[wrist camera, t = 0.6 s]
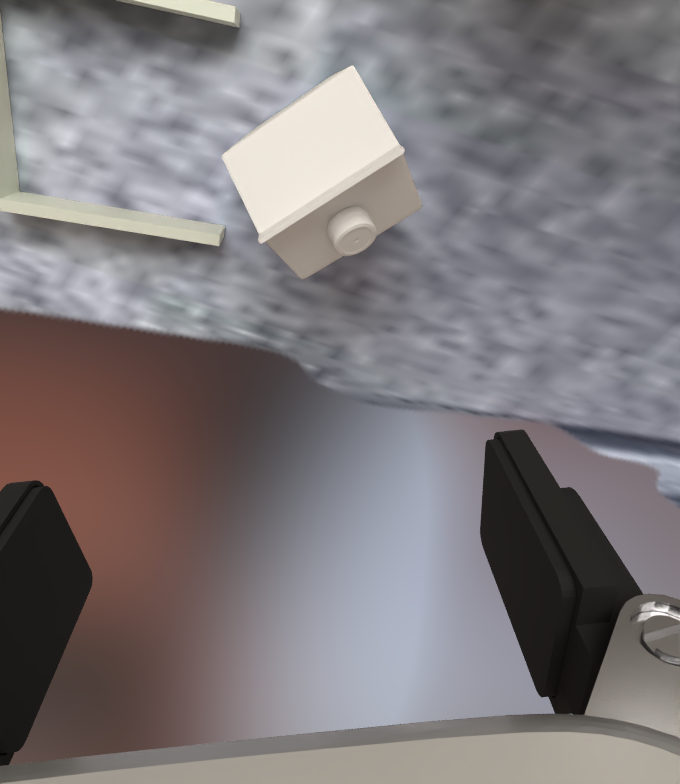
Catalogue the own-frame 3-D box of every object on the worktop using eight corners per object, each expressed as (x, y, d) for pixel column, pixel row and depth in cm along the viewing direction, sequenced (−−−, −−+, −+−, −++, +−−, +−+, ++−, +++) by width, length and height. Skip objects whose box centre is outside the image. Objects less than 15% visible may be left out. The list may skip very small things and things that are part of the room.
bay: (-20, -46, 32) (-49, -58, 29) (240, 13, 34) (235, 6, 31) (9, 200, 39) (-12, 208, 36) (224, 236, 41) (219, 246, 38)
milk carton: (248, 132, 38) (207, 165, 21) (334, 73, 36) (361, 59, 20) (302, 220, 41) (303, 308, 24) (383, 169, 39) (442, 226, 23)
